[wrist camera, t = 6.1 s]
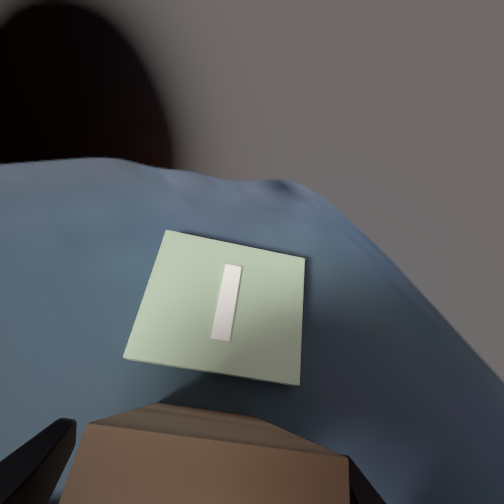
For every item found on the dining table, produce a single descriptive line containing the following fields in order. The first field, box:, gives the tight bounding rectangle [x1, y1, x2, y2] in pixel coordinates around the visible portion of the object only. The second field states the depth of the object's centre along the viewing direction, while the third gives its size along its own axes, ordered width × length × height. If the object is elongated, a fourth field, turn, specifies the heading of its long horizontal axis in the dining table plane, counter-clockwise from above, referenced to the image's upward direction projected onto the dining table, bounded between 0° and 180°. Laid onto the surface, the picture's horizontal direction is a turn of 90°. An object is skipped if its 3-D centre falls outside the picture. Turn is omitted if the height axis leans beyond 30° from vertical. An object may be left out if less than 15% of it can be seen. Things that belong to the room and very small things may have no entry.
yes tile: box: [123, 230, 305, 386], centre depth 16 cm, size 8×9×1 cm
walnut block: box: [59, 402, 350, 504], centre depth 9 cm, size 4×5×10 cm
